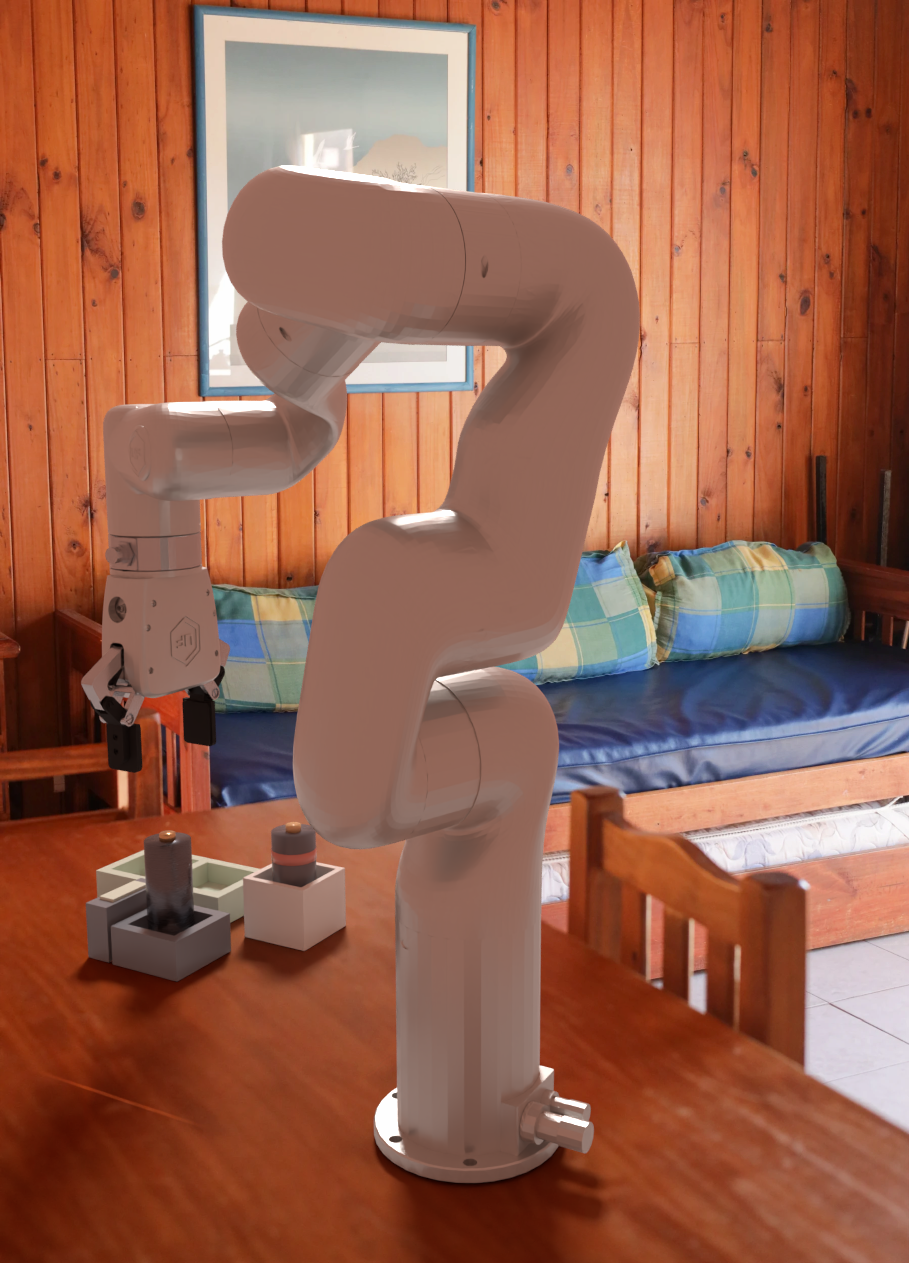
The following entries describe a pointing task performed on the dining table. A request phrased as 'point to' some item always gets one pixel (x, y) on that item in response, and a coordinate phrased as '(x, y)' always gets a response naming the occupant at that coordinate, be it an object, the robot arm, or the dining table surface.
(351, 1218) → the dining table surface
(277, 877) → the cup
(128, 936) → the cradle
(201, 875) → the tray
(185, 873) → the cell
